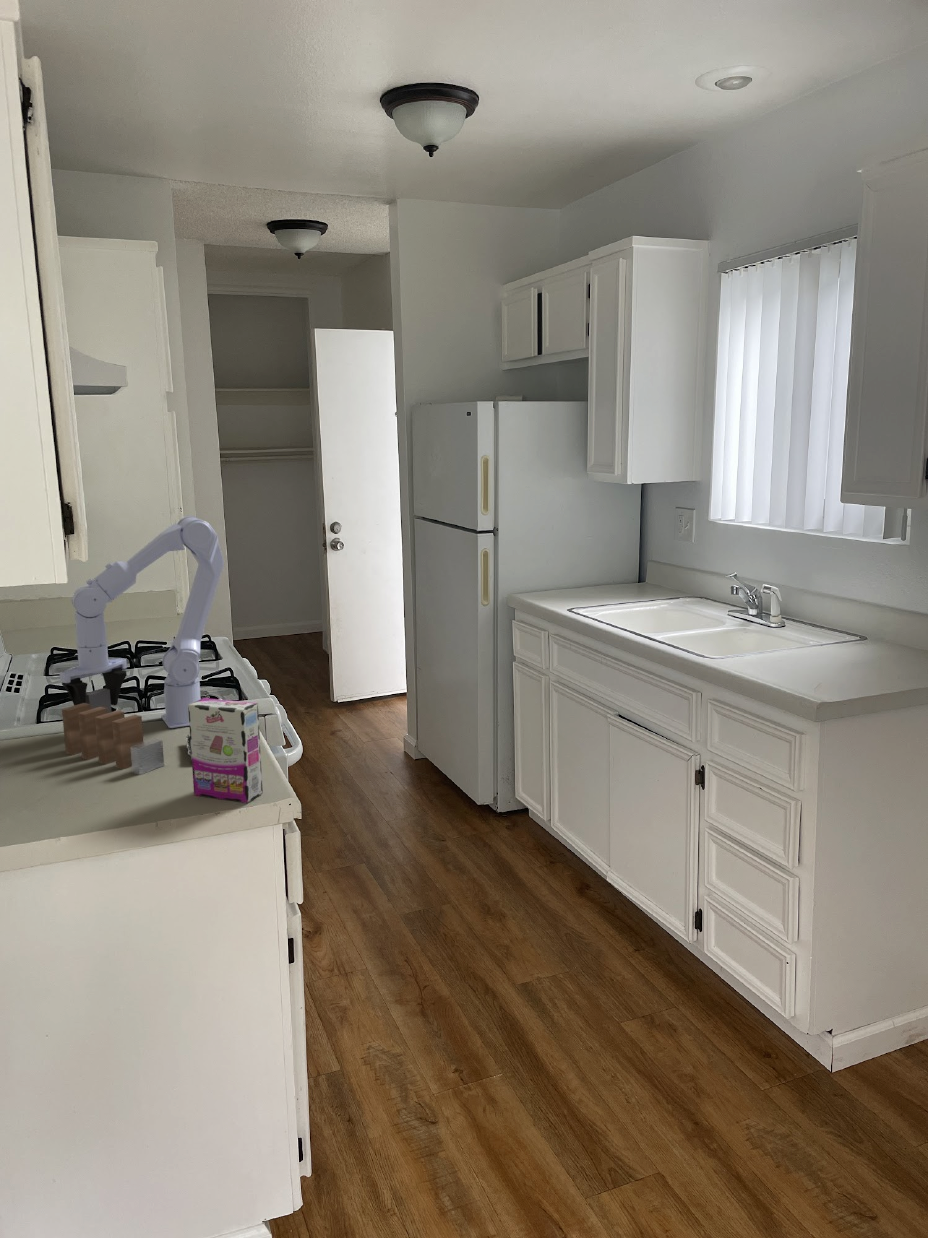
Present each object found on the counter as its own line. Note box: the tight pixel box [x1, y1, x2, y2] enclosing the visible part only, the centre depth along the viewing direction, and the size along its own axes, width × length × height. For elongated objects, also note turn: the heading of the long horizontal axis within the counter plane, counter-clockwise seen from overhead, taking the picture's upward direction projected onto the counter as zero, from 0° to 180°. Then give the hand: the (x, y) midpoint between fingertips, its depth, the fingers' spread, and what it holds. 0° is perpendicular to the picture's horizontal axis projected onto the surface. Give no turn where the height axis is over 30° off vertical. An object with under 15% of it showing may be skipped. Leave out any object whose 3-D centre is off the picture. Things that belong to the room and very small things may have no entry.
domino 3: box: [78, 707, 108, 761], centre depth 180 cm, size 2×5×9 cm, turn 148°
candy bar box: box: [188, 697, 264, 804], centre depth 159 cm, size 11×5×16 cm, turn 70°
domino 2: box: [86, 687, 112, 713], centre depth 193 cm, size 2×5×9 cm, turn 148°
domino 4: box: [95, 710, 126, 765], centre depth 177 cm, size 2×5×9 cm, turn 148°
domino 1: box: [61, 703, 91, 756], centre depth 182 cm, size 2×5×9 cm, turn 148°
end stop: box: [131, 738, 165, 776], centre depth 172 cm, size 2×6×5 cm, turn 148°
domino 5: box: [112, 714, 145, 770], centre depth 174 cm, size 2×5×9 cm, turn 148°
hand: (97, 709), depth 193 cm, fingers open, 7 cm apart
